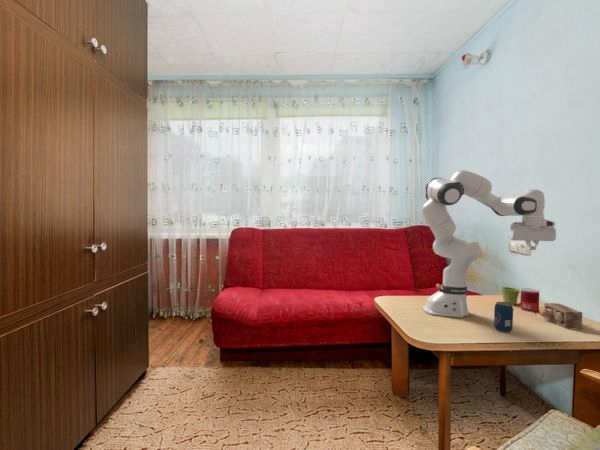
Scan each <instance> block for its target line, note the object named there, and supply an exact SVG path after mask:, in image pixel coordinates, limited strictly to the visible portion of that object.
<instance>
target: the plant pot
mask: <svg viewBox="0 0 600 450" xmlns="http://www.w3.org/2000/svg"><path fill="white" fill-rule="evenodd" d="M500 289H501V293H502V300H503V301H502V302H506V303H510V304H512V305H513V306H515V305H517V302H518V297H519V293H520V292H521V289H519V288H515V287H509V286H500Z"/></svg>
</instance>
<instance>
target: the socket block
mask: <svg viewBox="0 0 600 450" xmlns="http://www.w3.org/2000/svg"><path fill="white" fill-rule="evenodd" d="M543 307H545V308H546V309H553V316H546V317H543V318H544V319H545V320H548V321H550V322H551V323H553V324H556V325H558V326H560V327H561V328H563V329H572V328H576V330H582V328H583V312H582V311H579V310H577V309H574V308H572V307H569V306H568V305H564V304H561V303H556V302H555V303H553V302H552V303H551V302H550V303H549V302H545V303H544V306H543ZM556 312H561V313H562V314H564V321H563V322H558V321H557V320H556V319H555V313H556Z"/></svg>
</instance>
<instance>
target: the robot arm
mask: <svg viewBox="0 0 600 450" xmlns="http://www.w3.org/2000/svg"><path fill="white" fill-rule="evenodd" d="M492 189H493V185H492V182H491V181H490V180H489V179H488V178H486V177H484V176H483V175H480V174H478V173H474V172H472V171H468V170H464V169H461V170H457V171H455V172H454V173H453V175H451V178H450V179H445V178H443V177H433V178H431V179H430V180H428V181H427V182H426V184H425V198H426V199H427V201H426V202H425V203H423V204H422V208H421V211H422V215H423V217H424V220H425V221H426V223H427V225H428V227H429V229H430V231H431V232H432V234H433V235H434V241H433V243H432V250H433V252H434V254H436V255H438V256H439V257H442V258H447V259H451V262H450V264H449V265H447V266H446V267H444V269H443V271H442V283H441V284H440V283H436V285H435V287H436V288H437V289H438V291H436V292H435V293H433V294H431V295H430V296H428V298H427V300H426V304H423V305H422V307H421V310H422V311H424V312H425V313H426V314H429V315H430V316H431V315H433V316H441V317H453V318H461V319H462V318H464V317H465V316H469V314H470V313H469V309H468V301H467V296H468V286H467V276H468V272H469V269H470V266H471V265H472V263H473V262H474V261H476V260H478V259H479V257H480V256H481V253H482V248H481V246H480V245H481V244H479V243H478V242H477V241H474V240H472V239H469V238H459V237H455V236H454V234H455V233H456V229H457V226H456V224H455V222H454V220H453V218H452V216H451V215H450V213H449V211H448V210H447V206H454V205H456V204H457V203H458V202H459V201H460V200H461V198H462V196H467V197H469V198H471V199H474V200H475V201H477V202H479V203H481V204H483V205H485V206H487V207H489V208H490V209H491V210H492V212H493V213H494V214H496V215H497V216H499V217H506V216H507V217H508V216H511V217H513V216H515V217H517V216H518V217H519V216H522V217H521V221H518V222H517V221H515V222H512V223H511V224H510V229H509V230H510V231H509V237H508V238H509V239H510V241H520V242H521V241H525V245H526V246H527V251H536V250H537V246H538V245H539V243H540V242H554V241H555V240H557V230H556V227H555V226H556V222H555V221H553V220H548V219H546V218H545V214H544V211H545V204H546V202H545V201H546V200H545V194H544V192H543V191H541V190H539V189H526V190H525V191H524V192H522V193H521V194H519V195H518V194H517V195H516V196H497V195H494V194H493V193H491V192H492ZM531 242H532V243H533V245H531Z"/></svg>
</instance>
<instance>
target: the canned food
mask: <svg viewBox="0 0 600 450" xmlns="http://www.w3.org/2000/svg"><path fill="white" fill-rule="evenodd" d="M519 305H520V309H521V310H522V311H525V312H529V313H537V312H539V311H540V290H538V289H534V288H528V287H522V288H521V289H520V304H519Z"/></svg>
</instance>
